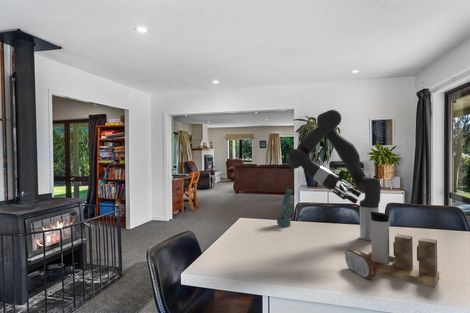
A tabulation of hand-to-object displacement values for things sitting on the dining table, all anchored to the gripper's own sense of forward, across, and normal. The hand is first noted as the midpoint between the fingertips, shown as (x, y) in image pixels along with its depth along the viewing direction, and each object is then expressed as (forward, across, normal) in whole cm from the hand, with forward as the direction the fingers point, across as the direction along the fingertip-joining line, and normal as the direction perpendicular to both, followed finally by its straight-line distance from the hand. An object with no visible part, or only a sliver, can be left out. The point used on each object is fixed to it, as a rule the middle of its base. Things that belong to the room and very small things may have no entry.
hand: (358, 198), depth 123 cm
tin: (+14, -25, +16) cm, 32 cm away
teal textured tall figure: (-23, +30, +56) cm, 67 cm away
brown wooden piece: (+25, -16, +10) cm, 32 cm away
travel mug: (+19, -15, +12) cm, 27 cm away
